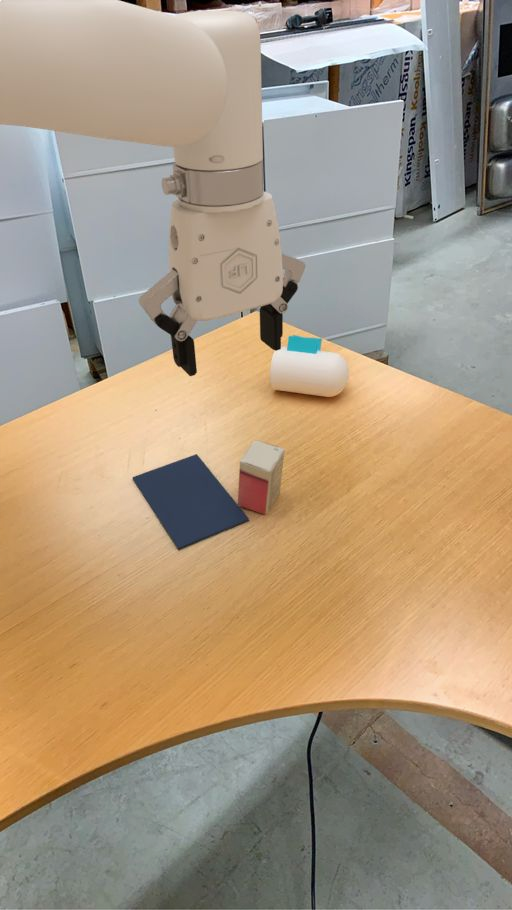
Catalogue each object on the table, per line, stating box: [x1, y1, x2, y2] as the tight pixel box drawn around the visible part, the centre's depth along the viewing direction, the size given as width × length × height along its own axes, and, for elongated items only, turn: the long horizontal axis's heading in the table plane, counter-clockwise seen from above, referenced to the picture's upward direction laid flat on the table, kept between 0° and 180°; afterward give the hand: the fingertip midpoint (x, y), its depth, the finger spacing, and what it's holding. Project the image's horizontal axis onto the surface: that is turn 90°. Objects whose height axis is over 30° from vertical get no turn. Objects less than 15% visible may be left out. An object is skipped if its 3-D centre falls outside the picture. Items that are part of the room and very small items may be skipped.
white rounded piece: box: [269, 334, 350, 398], centre depth 108 cm, size 12×9×12 cm
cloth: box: [132, 453, 250, 551], centre depth 88 cm, size 10×16×1 cm, turn 29°
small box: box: [237, 439, 285, 515], centre depth 85 cm, size 5×4×8 cm
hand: (230, 357), depth 67 cm, fingers open, 9 cm apart
